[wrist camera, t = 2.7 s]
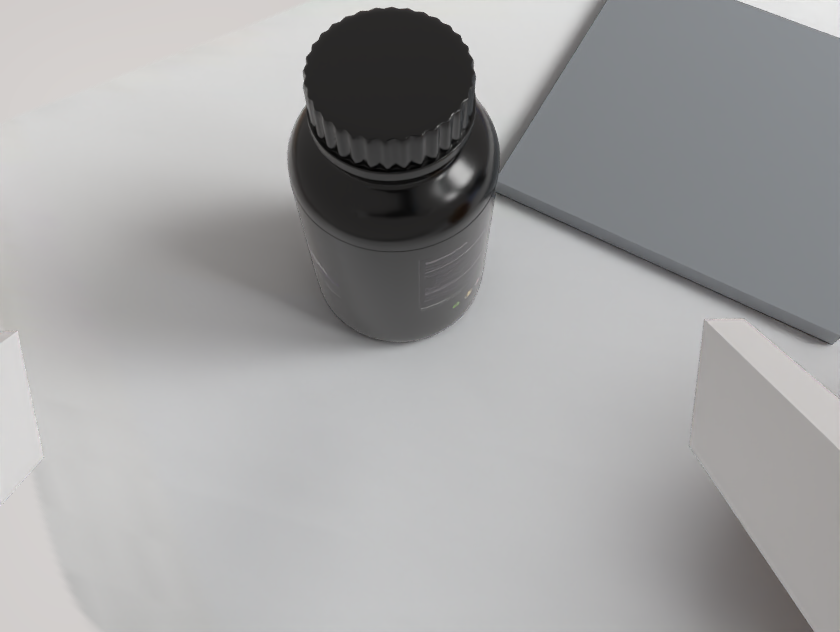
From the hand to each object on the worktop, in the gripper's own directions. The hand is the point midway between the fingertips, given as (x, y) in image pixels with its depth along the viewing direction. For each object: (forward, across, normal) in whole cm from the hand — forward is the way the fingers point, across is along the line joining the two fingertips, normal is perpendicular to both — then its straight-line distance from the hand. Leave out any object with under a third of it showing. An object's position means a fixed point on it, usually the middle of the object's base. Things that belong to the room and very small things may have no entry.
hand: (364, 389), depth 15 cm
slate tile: (+22, +15, +2) cm, 26 cm away
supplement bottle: (+17, 0, -3) cm, 17 cm away
